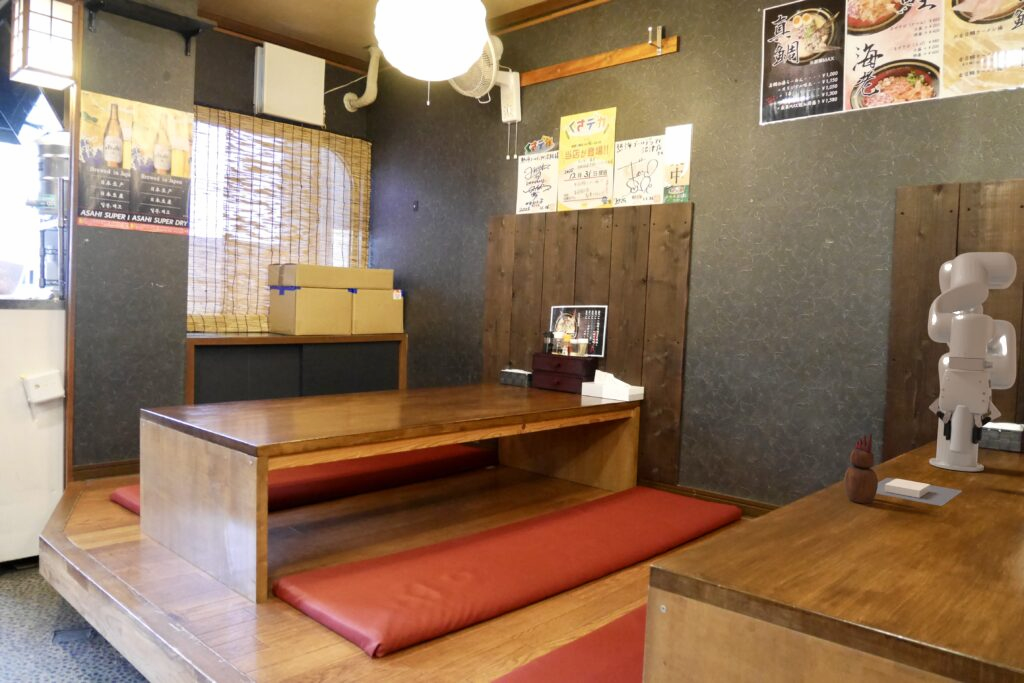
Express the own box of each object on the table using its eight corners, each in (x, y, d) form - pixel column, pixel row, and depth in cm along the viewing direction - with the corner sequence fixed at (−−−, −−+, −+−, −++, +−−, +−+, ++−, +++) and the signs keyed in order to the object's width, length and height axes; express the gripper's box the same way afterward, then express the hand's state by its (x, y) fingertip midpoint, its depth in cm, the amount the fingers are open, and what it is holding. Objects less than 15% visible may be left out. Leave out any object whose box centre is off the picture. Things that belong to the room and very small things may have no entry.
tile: (896, 478, 166) (884, 484, 160) (930, 484, 161) (919, 490, 155) (896, 485, 166) (884, 492, 160) (929, 491, 161) (919, 498, 155)
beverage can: (976, 455, 166) (980, 404, 166) (954, 453, 167) (957, 403, 166) (967, 451, 171) (971, 402, 170) (945, 450, 172) (949, 401, 171)
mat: (887, 479, 175) (887, 477, 175) (962, 492, 164) (962, 490, 164) (861, 492, 160) (861, 490, 160) (941, 507, 149) (941, 506, 149)
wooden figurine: (881, 506, 149) (885, 435, 148) (853, 505, 149) (857, 434, 148) (865, 497, 155) (869, 430, 155) (839, 496, 155) (843, 429, 155)
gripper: (1013, 368, 165) (1007, 445, 166) (930, 362, 177) (925, 434, 177) (1007, 369, 160) (1001, 449, 160) (922, 363, 171) (917, 437, 172)
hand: (961, 440), depth 169 cm, fingers closed on beverage can, 4 cm apart
